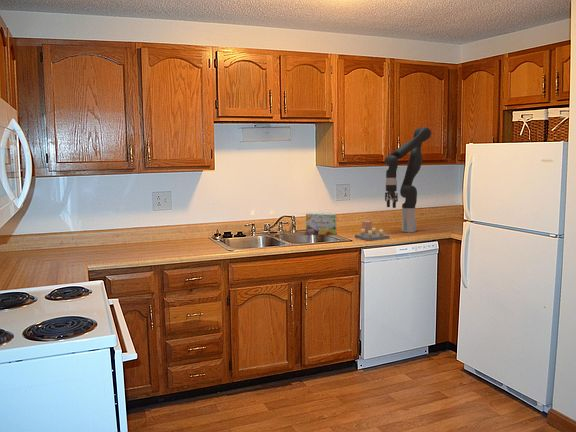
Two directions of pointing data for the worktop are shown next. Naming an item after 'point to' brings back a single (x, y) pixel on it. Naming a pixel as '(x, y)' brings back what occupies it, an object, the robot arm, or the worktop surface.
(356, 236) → the chassis plate
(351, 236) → the worktop surface
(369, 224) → the terracotta block
